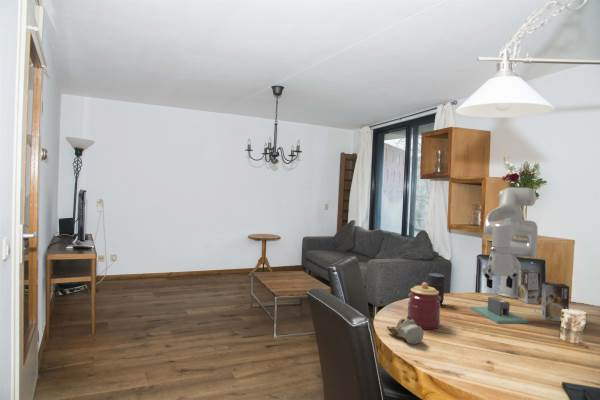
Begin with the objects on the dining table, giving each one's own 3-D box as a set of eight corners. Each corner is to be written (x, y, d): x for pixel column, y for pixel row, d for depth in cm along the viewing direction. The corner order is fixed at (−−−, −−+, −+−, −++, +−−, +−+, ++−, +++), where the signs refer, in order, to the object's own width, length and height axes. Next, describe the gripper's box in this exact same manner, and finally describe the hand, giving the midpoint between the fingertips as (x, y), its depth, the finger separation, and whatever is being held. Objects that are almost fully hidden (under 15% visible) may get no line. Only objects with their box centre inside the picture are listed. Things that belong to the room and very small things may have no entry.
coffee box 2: (563, 318, 175) (564, 283, 174) (568, 322, 168) (570, 286, 168) (540, 315, 177) (542, 281, 177) (544, 320, 171) (546, 284, 171)
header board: (471, 309, 184) (471, 300, 184) (498, 309, 186) (498, 300, 186) (497, 323, 164) (497, 313, 164) (527, 323, 166) (527, 313, 166)
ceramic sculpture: (405, 322, 134) (385, 311, 149) (405, 347, 134) (385, 334, 148) (432, 321, 137) (410, 311, 151) (431, 346, 136) (409, 333, 151)
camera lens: (426, 305, 186) (427, 275, 186) (425, 301, 194) (427, 272, 194) (444, 308, 184) (445, 277, 184) (442, 303, 192) (444, 273, 192)
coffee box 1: (539, 304, 197) (541, 273, 197) (526, 303, 197) (528, 272, 197) (529, 299, 206) (530, 269, 206) (517, 298, 206) (518, 269, 206)
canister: (403, 326, 156) (405, 283, 156) (410, 317, 168) (412, 277, 167) (437, 332, 150) (439, 287, 150) (441, 323, 162) (443, 281, 161)
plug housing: (487, 309, 179) (488, 296, 179) (496, 309, 180) (496, 297, 180) (499, 316, 170) (500, 302, 170) (508, 316, 171) (509, 302, 171)
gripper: (488, 251, 170) (486, 289, 170) (524, 251, 172) (522, 289, 172) (478, 248, 177) (476, 285, 178) (512, 249, 179) (511, 285, 180)
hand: (499, 287), depth 175 cm, fingers open, 9 cm apart
